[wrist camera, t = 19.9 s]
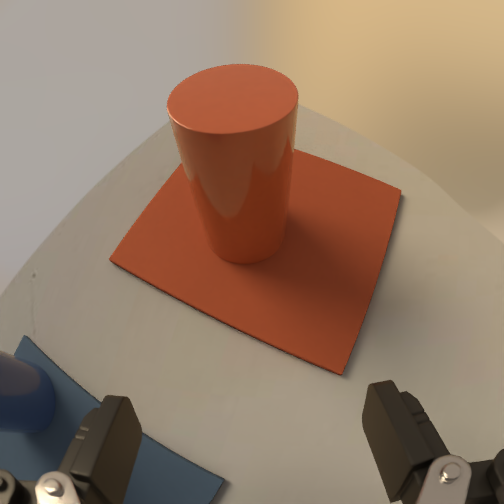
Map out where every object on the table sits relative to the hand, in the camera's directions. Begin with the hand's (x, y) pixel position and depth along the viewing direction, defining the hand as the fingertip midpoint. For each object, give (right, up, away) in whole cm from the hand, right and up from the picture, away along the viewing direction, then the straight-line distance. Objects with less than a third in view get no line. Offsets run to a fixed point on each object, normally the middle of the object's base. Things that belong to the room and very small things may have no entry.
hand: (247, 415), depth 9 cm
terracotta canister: (0, +7, +11) cm, 13 cm away
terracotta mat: (+1, +7, +11) cm, 13 cm away
